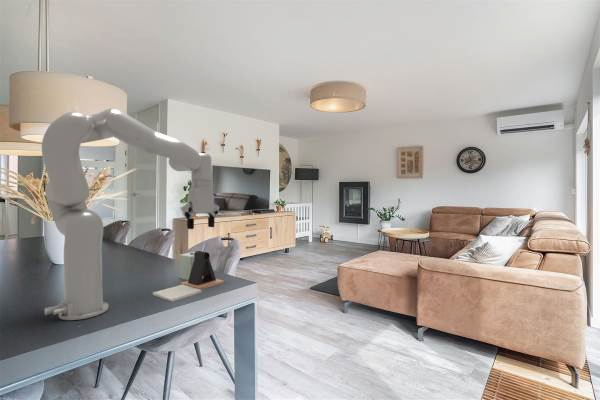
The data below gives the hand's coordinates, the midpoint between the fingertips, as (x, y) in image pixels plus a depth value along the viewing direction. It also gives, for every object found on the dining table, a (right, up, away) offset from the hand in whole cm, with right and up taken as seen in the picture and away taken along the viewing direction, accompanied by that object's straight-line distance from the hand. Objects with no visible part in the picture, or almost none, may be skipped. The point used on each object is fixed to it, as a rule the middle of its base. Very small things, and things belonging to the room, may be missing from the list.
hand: (201, 227), depth 125 cm
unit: (-7, -22, +10) cm, 25 cm away
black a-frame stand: (0, -22, +1) cm, 22 cm away
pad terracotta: (0, -22, +1) cm, 22 cm away
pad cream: (-5, -23, -11) cm, 26 cm away
